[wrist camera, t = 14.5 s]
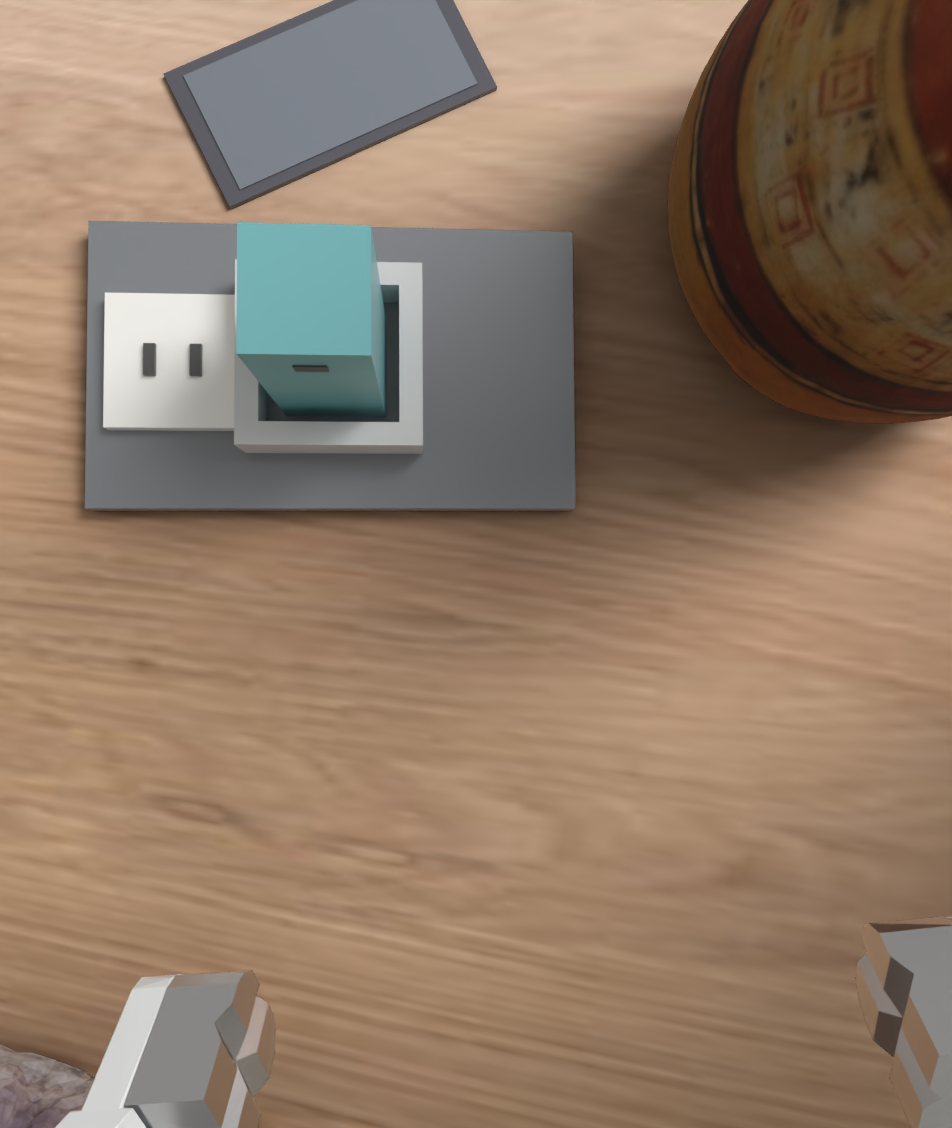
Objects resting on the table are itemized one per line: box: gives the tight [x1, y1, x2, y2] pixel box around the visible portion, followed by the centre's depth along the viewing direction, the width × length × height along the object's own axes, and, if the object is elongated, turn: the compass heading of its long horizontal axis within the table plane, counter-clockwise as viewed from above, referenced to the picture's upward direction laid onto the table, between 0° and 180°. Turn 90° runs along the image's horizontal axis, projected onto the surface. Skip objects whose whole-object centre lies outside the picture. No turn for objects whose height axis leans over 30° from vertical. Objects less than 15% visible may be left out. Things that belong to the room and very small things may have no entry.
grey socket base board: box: [85, 221, 576, 511], centre depth 34 cm, size 22×13×3 cm, turn 90°
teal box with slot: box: [236, 222, 386, 417], centre depth 30 cm, size 4×5×9 cm
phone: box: [164, 0, 497, 209], centre depth 37 cm, size 7×14×1 cm, turn 117°
